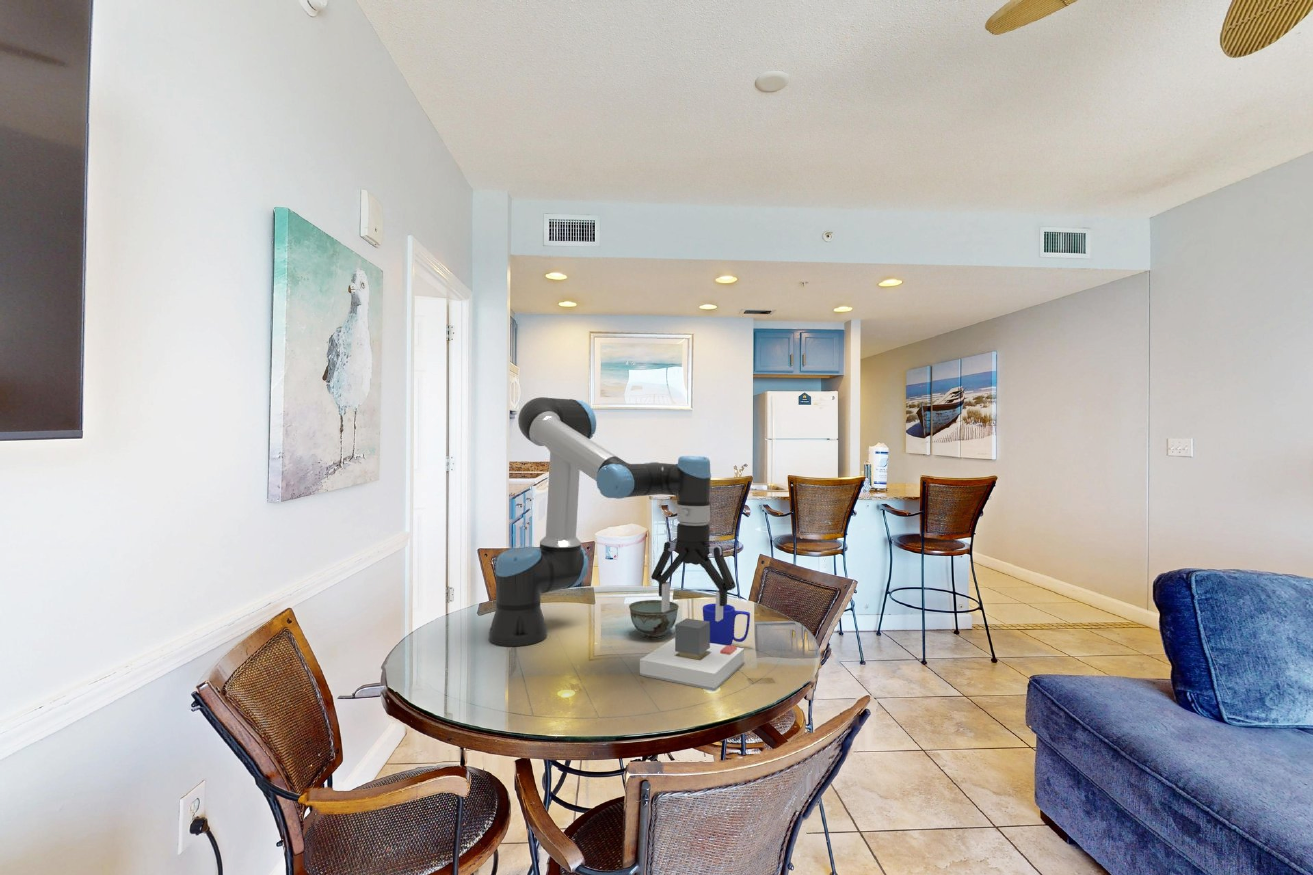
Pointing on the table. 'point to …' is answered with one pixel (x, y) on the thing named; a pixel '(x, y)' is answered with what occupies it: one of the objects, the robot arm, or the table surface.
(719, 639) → the mug
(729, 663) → the socket plate
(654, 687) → the table surface
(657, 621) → the bowl
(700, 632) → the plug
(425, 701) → the table surface
